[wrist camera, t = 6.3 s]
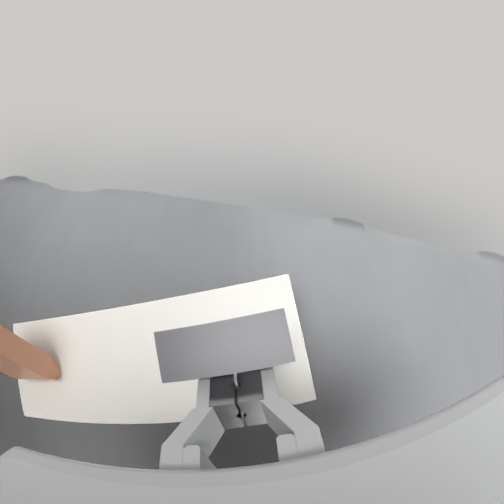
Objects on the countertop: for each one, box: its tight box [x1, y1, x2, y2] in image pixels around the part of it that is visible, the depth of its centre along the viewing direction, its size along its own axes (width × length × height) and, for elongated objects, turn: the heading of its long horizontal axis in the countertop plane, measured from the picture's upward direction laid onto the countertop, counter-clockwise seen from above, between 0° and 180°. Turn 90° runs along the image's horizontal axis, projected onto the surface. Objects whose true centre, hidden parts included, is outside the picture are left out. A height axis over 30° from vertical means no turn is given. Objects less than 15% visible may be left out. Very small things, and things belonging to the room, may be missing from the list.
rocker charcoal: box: [154, 308, 296, 383], centre depth 15 cm, size 2×5×9 cm, turn 101°
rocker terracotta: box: [0, 324, 60, 380], centre depth 15 cm, size 2×5×9 cm, turn 101°
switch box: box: [13, 274, 317, 424], centre depth 23 cm, size 9×26×8 cm, turn 101°
